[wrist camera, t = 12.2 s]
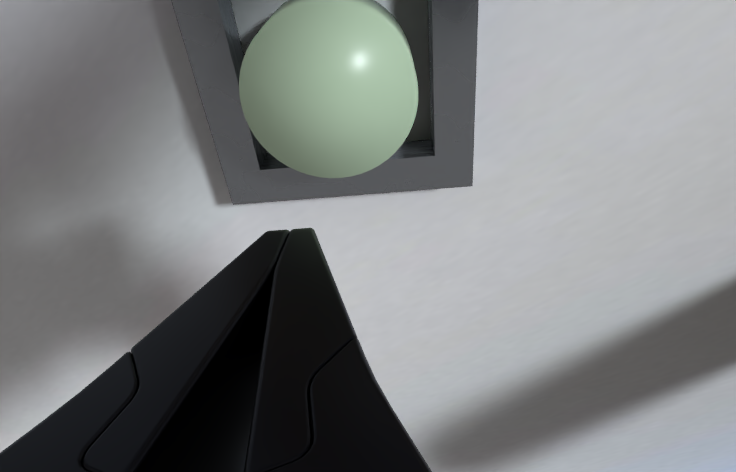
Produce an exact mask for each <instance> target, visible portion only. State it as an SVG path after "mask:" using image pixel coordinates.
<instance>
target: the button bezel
mask: <svg viewBox="0 0 736 472" xmlns="http://www.w3.org/2000/svg"><path fill="white" fill-rule="evenodd" d="M171 1H172V4H173V7H174V11H175V14H176V17H177V21H178V24H179V27H180V31H181V34H182V37H183V41H184V44H185V47H186V50H187V54H188V57H189V60H190V64H191V67H192V70H193V74H194V77H195V80H196V84H197V87H198V90H199V94H200V97H201V100H202V103H203V107H204V110H205V113H206V117H207V120H208V123H209V127H210V130H211V133H212V137H213V140H214V143H215V146H216V150H217V153H218V156H219V160H220V163H221V166H222V170H223V173H224V176H225V180H226V183H227V186H228V189H229V193H230V196H231V199H232V203H233V205H234V204H247V203H260V202H273V201H286V200H299V199H311V198H324V197H337V196H350V195H363V194H376V193H389V192H402V191H415V190H428V189H441V188H454V187H467V186H472V182H473V151H474V120H475V89H476V58H477V27H478V0H428V16H429V61H430V106H431V140H422V141H410V142H403V144H402V145H401V146H400V147H399V149H398V150H397V151H396V152H395V153H394V154H393V155H392V156H391V157H390V158H389V159H387V160H386V161H385V162H383V163H382V164H381V165H379V166H377V167H375V168H373V169H372V170H369V171H367V172H364V173H362V174H359V175H355V176H351V177H344V178H323V177H316V176H311V175H308V174H304V173H301V172H299V171H296V170H294V169H292V168H290V167H288V166H286V165H285V164H283V163H282V162H280V161H279V160H277V159H276V158H275V157H273V156H272V155H271V154H270V153H266V149H265V148H264V147H263V146H262V145H261V144H260V142H259V141H258V140H257V139H256V137H255V136H254V134H253V132H252V131H251V129H250V127H249V125H248V123H247V121H246V119H245V116H244V113H243V110H242V106H241V101H240V95H239V77H240V70H241V66H242V61H243V58H244V56H243V52H242V48H241V43H240V39H239V35H238V31H237V27H236V22H235V18H234V14H233V10H232V6H231V1H230V0H171Z"/></svg>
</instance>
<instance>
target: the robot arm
mask: <svg viewBox="0 0 736 472" xmlns="http://www.w3.org/2000/svg"><path fill="white" fill-rule="evenodd" d="M0 472H432V471H431V470H430V468H429V467H428V465H427V463H426V462H425V460H424V459H423V457H422V455H421V454H420V452H419V451H418V449H417V447H416V446H415V444H414V443H413V441H412V439H411V438H410V436H409V435H408V433H407V431H406V430H405V428H404V427H403V425H402V423H401V422H400V420H399V419H398V417H397V415H396V414H395V412H394V411H393V409H392V407H391V406H390V404H389V402H388V400H387V399H386V397H385V395H384V393H383V392H382V390H381V388H380V386H379V384H378V383H377V381H376V379H375V377H374V375H373V372H372V370H371V368H370V366H369V364H368V362H367V359H366V357H365V355H364V352H363V350H362V347H361V345H360V342H359V340H358V339H357V336H356V333H355V331H354V328H353V326H352V323H351V321H350V318H349V316H348V313H347V311H346V308H345V306H344V303H343V301H342V298H341V296H340V293H339V291H338V288H337V286H336V283H335V281H334V278H333V276H332V274H331V271H330V269H329V266H328V264H327V261H326V259H325V256H324V254H323V251H322V249H321V246H320V244H319V241H318V239H317V236H316V234H315V231H314V230H313V229H312V228H302V229H293V230H291V231H288V230H276V231H267V232H266V233H264V234H263V235H262V236H261V237H260V238H259V239H257V240H256V241H255V242H254V243H253V244H252V245H250V246H249V247H248V248H247V249H246V250H245V251H244V252H242V253H241V254H240V255H239V256H238V257H237V258H235V259H234V260H233V261H232V262H231V263H230V264H229V265H227V266H226V267H225V268H224V269H223V270H222V271H220V272H219V273H218V274H217V275H216V276H215V277H214V278H212V279H211V280H210V281H209V282H208V283H207V284H205V285H204V286H203V287H202V288H201V289H200V290H199V291H197V292H196V293H195V294H194V295H193V296H192V297H190V298H189V299H188V300H187V301H186V302H185V303H184V304H182V305H181V306H180V307H179V308H178V309H177V310H175V311H174V312H173V313H172V314H171V315H170V316H169V317H167V318H166V319H165V320H164V321H163V322H162V323H160V324H159V325H158V326H157V327H156V328H155V329H154V330H152V331H151V332H150V333H149V334H148V335H147V336H145V337H144V338H143V339H142V340H141V341H140V342H138V343H137V344H136V345H135V346H134V347H133V348H132V349H131V352H127V353H126V354H124V355H123V356H122V357H121V358H120V359H119V360H118V361H116V362H115V363H114V364H113V365H112V366H111V367H109V368H108V369H107V370H106V371H105V372H103V373H102V374H101V375H100V376H99V377H97V378H96V379H95V380H94V381H93V382H91V383H90V384H89V385H88V386H87V387H85V388H84V389H83V390H82V391H81V392H79V393H78V394H77V395H76V396H74V397H73V398H72V399H71V400H69V401H68V402H67V403H65V404H64V405H63V406H61V407H60V408H59V409H58V410H56V411H55V412H54V413H52V414H51V415H50V416H49V417H47V418H46V419H45V420H43V421H42V422H41V423H39V424H38V425H37V426H35V427H34V428H33V429H31V430H30V431H29V432H27V433H26V434H25V435H23V436H22V437H21V438H19V439H18V440H17V441H15V442H14V443H13V444H11V445H10V446H9V447H7V448H6V449H5V450H3V451H2V452H1V453H0Z"/></svg>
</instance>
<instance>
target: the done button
mask: <svg viewBox="0 0 736 472" xmlns="http://www.w3.org/2000/svg"><path fill="white" fill-rule="evenodd" d="M239 95H240V101H241V106H242V110H243V113H244V116H245V119H246V121H247V123H248V125H249V127H250V129H251V131H252V132H253V134H254V136H255V137H256V139H257V140H258V141H259V142H260V144H261V145H262V146H263V147H264V148H265V149H266V150H267V151H268V152H269V153H270V154H271V155H272V156H273V157H275V158H276V159H277V160H279V161H280V162H282V163H283V164H285V165H286V166H288V167H290V168H292V169H294V170H296V171H299V172H301V173H304V174H308V175H311V176H316V177H323V178H344V177H351V176H355V175H359V174H362V173H364V172H367V171H369V170H372V169H373V168H375V167H377V166H379V165H381V164H382V163H383V162H385V161H386V160H387V159H389V158H390V157H391V156H392V155H393V154H394V153H395V152H396V151H397V150H398V149H399V147H400V146H401V145H402V144H403V142H404V141H405V139H406V138H407V136H408V134H409V132H410V130H411V128H412V126H413V123H414V120H415V116H416V112H417V106H418V82H417V76H416V72H415V67H414V63H413V58H412V54H411V50H410V46H409V43H408V41H407V38H406V36H405V34H404V32H403V30H402V28H401V27H400V25H399V24H398V22H397V21H396V20H395V18H394V17H393V16H392V15H391V14H390V13H389V12H388V11H387V10H386V9H385V8H384V7H383V6H382V5H380V4H379V3H378V2H376V1H375V0H288V1H287V2H285V3H284V4H282V5H281V6H280V7H279V8H278V9H277V10H276V11H275V12H274V13H273V15H272V16H271V17H270V18H269V19H268V21H267V22H266V23H265V24H264V26H263V27H262V28H261V29H260V30H259V32H258V33H257V34H256V36H255V37H254V38H253V40H252V41H251V43H250V45H249V47H248V49H247V51H246V53H245V56H244V58H243V61H242V66H241V70H240V77H239Z"/></svg>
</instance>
